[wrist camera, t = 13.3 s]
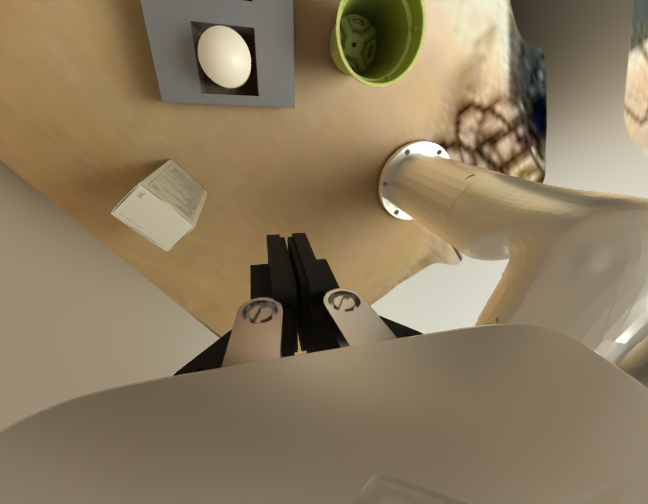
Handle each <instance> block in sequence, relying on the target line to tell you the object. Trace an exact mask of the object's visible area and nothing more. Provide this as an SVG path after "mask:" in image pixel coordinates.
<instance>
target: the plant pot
mask: <svg viewBox="0 0 648 504" xmlns="http://www.w3.org/2000/svg"><path fill="white" fill-rule="evenodd" d="M354 19H358V20H361V21H362V22H363V25H360V24H359V23H356V22H353V20H354ZM425 31H426V9H425V4H424V0H340V3H339V6H338V10H337V16H336V24H335V26H334V28H333V30H332V32H331V36H330V53H331V56H332V59H333V61H334V63H335V65H336V66H337V68H338V69H339V70H340V71H342V72H343V73H345V74H348V75H352V76H353V77H354V78H355V79H356V80H358V81H359V82H361V83H363V84H365V85H368V86H372V87H385V86H389V85H391V84H393V83H395V82H397V81H399V80H400V79H401V78H403V77H404V76H405V75H406V74H407V73H408V72H409V71H410V69H411V68H412V67H413V65H414V64H415V62H416V60H417V58H418V56H419V54H420V51H421V48H422V45H423V42H424V37H425ZM352 43H355V44H356V47H355V48H354V47H352ZM370 45H372V52H371V55H370V57H369V58H368V57H367V56H368V53H369V49H370ZM351 67H353V70H352V69H351Z"/></svg>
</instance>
